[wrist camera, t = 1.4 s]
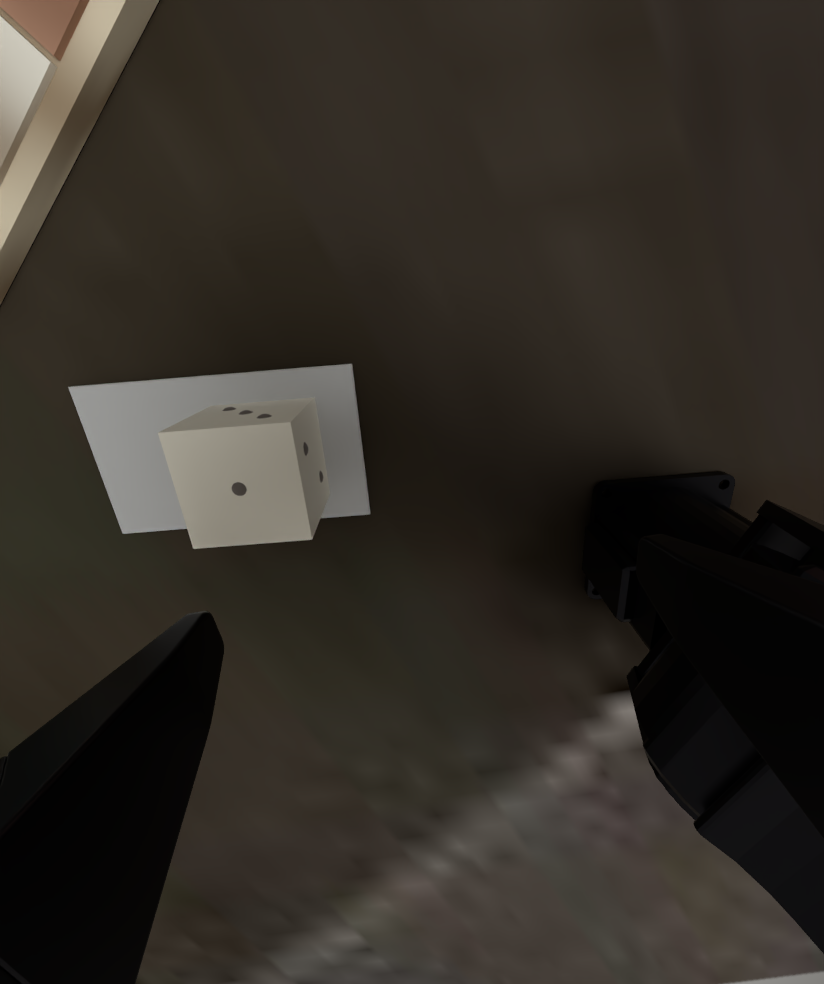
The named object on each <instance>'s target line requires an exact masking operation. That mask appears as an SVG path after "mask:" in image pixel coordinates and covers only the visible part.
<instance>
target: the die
mask: <svg viewBox="0 0 824 984" xmlns="http://www.w3.org/2000/svg"><path fill="white" fill-rule="evenodd" d="M158 435H159V438H160V442H161V445H162V448H163V452H164V455H165V458H166V461H167V465H168V468H169V471H170V474H171V478H172V481H173V484H174V487H175V491H176V494H177V497H178V500H179V504H180V507H181V510H182V514H183V517H184V520H185V523H186V527H187V530H188V533H189V536H190V540H191V543H192V546H193V549H199V548H211V547H224V546H237V545H250V544H263V543H276V542H289V541H301V540H312V539H313V536H314V534H315V531H316V529H317V526H318V523H319V521H320V518H321V516H322V513H323V510H324V508H325V505H326V503H327V500H328V498H329V495H330V490H329V483H328V477H327V471H326V465H325V458H324V452H323V446H322V440H321V433H320V427H319V421H318V415H317V408H316V402H315V398H302V399H290V400H278V401H265V402H253V403H240V404H228V405H215V406H210V407H208V408H206V409H204V410H202V411H200V412H198V413H196V414H194V415H192V416H190V417H188V418H186V419H184V420H182V421H180V422H178V423H176V424H174V425H172V426H170V427H168V428H166V429H164V430H162V431H160V432H158Z"/></svg>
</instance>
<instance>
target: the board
mask: <svg viewBox="0 0 824 984" xmlns="http://www.w3.org/2000/svg"><path fill="white" fill-rule="evenodd" d="M158 2H159V0H0V305H1V303H2V301H3V299H4V297H5V295H6V293H7V291H8V289H9V288H10V286H11V284H12V282H13V280H14V278H15V276H16V274H17V272H18V270H19V268H20V266H21V265H22V263H23V261H24V259H25V257H26V255H27V253H28V251H29V249H30V247H31V245H32V243H33V242H34V240H35V238H36V236H37V234H38V232H39V230H40V228H41V226H42V224H43V222H44V220H45V219H46V217H47V215H48V213H49V211H50V209H51V207H52V205H53V203H54V201H55V199H56V197H57V196H58V194H59V192H60V190H61V188H62V186H63V184H64V182H65V180H66V178H67V176H68V175H69V173H70V171H71V169H72V167H73V165H74V163H75V161H76V159H77V157H78V155H79V153H80V152H81V150H82V148H83V146H84V144H85V142H86V140H87V138H88V136H89V134H90V132H91V130H92V129H93V127H94V125H95V123H96V121H97V119H98V117H99V115H100V113H101V111H102V109H103V107H104V106H105V104H106V102H107V100H108V98H109V96H110V94H111V92H112V90H113V88H114V86H115V84H116V83H117V81H118V79H119V77H120V75H121V73H122V71H123V69H124V67H125V65H126V63H127V61H128V60H129V58H130V56H131V54H132V52H133V50H134V48H135V46H136V44H137V42H138V40H139V38H140V37H141V35H142V33H143V31H144V29H145V27H146V25H147V23H148V21H149V19H150V17H151V15H152V14H153V12H154V10H155V8H156V6H157V4H158Z"/></svg>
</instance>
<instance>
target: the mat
mask: <svg viewBox="0 0 824 984" xmlns="http://www.w3.org/2000/svg"><path fill="white" fill-rule="evenodd" d="M68 388H69V390H70V393H71V396H72V398H73V401H74V404H75V406H76V409H77V412H78V415H79V417H80V420H81V423H82V425H83V428H84V431H85V433H86V436H87V439H88V441H89V444H90V447H91V449H92V452H93V455H94V458H95V460H96V463H97V466H98V468H99V471H100V474H101V476H102V479H103V482H104V484H105V487H106V490H107V493H108V495H109V498H110V501H111V503H112V506H113V509H114V511H115V514H116V517H117V519H118V522H119V525H120V528H121V530H122V533H123V534H126V533H139V532H152V531H165V530H177V529H187V527H186V523H185V520H184V517H183V514H182V510H181V507H180V504H179V500H178V497H177V494H176V491H175V487H174V484H173V481H172V478H171V474H170V471H169V468H168V465H167V461H166V458H165V455H164V452H163V448H162V445H161V442H160V438H159V435H158V432H160V431H162V430H164V429H166V428H168V427H170V426H172V425H174V424H176V423H178V422H180V421H182V420H184V419H186V418H188V417H190V416H192V415H194V414H196V413H198V412H200V411H202V410H204V409H206V408H208V407H210V406H215V405H228V404H240V403H253V402H265V401H278V400H290V399H302V398H315V402H316V408H317V415H318V421H319V427H320V433H321V440H322V446H323V452H324V458H325V465H326V471H327V477H328V483H329V490H330V495H329V498H328V500H327V503H326V505H325V508H324V510H323V513H322V516H321V518H331V517H344V516H356V515H369V514H370V504H369V496H368V487H367V479H366V471H365V463H364V455H363V447H362V439H361V431H360V423H359V415H358V407H357V398H356V390H355V382H354V374H353V366H352V364H340V365H328V366H315V367H303V368H291V369H278V370H266V371H254V372H241V373H229V374H217V375H204V376H192V377H179V378H167V379H155V380H142V381H130V382H118V383H105V384H93V385H81V386H71V387H68Z"/></svg>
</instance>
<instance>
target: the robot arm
mask: <svg viewBox="0 0 824 984" xmlns="http://www.w3.org/2000/svg"><path fill="white" fill-rule="evenodd" d="M722 480H724V482H723V484H722V485H721V486H719V483H720V482H721V481H722ZM734 486H735V479H734V477H733V476H731V475H729V474H727V473H725V472H711V473H698V474H685V475H673V476H660V477H647V478H634V479H622V480H609V481H602V482H599V483H598V484H597V485H596V486H595V487H594V490H593V498H592V509H591V520H590V523H589V524H588V525H587V527H586V528H585V540H584V551H583V563H582V570H583V571H584V573H585V574H586V575H585V586H584V588H585V591H586V593H587V594H588V596H589V597H590V598H592V599H603V600H604V602H605V603H606V604H607V606H608V607H609V609H610V610H611V612H612V613H613V615H614V616H615V617H616V618H617V619H618V620H619V621H621V622H629V623H630V624H631V625H632V627H633V628H634V629H635V631H636V632H637V634H638V635H639V636H640V638H641V639H642V640H643V642H644V643H645V645H646V646H647V647H648V649H649V650H650V652H649V653H648V654H647V656H646V657H645V658H644V659H643V661H642V662H641V663H640V664H639V666H634V667H633V668H632V670H631V671H630V672H629V673H628V675H627V680H628V684H629V688H630V692H631V696H632V700H633V704H634V708H635V712H636V716H637V720H638V724H639V728H640V732H641V736H642V740H643V747H644V750H645V753H646V755H647V758H648V760H649V763H650V765H651V767H652V769H653V770H654V773H655V775H656V777H657V778H658V780H659V781H660V782H661V783H662V784H663V786H664V787H665V789H666V790H667V791H668V793H669V794H670V795H671V796H672V797H673V798H674V799H675V801H676V802H677V803H678V804H679V805H680V806H681V807H682V808H683V809H684V810H685V811H686V812H687V813H688V814H689V815H690V816H691V817H692V818H693V819H694V820H695V821H694V826H695V828H696V830H697V831H698V832H699V834H700V835H702V836H703V837H704V838H705V839H707V840H708V841H709V842H711V843H712V844H713V845H715V846H716V847H717V848H718V849H720V850H721V851H722V852H724V853H725V854H726V855H728V856H729V857H730V858H732V859H733V860H734V861H736V862H737V863H738V864H739V865H740V866H741V867H742V868H743V869H744V870H745V871H746V872H747V873H748V874H749V875H751V876H752V877H753V878H754V879H755V880H756V881H757V882H758V883H759V884H760V885H761V886H762V887H763V888H764V889H765V890H767V891H768V892H769V893H770V894H771V895H772V896H773V898H774V899H775V900H776V901H777V902H778V903H779V904H780V905H781V906H782V907H783V908H784V909H785V911H786V912H787V913H788V914H789V915H790V916H791V917H792V918H793V919H794V920H795V921H796V923H797V924H798V925H799V926H800V927H801V928H802V929H803V931H804V932H805V933H806V934H807V935H808V936H809V937H810V939H811V940H812V941H813V942H814V943H815V944H816V945H817V947H818V948H819V949H820V950H821V951H822V952H823V953H824V525H822V524H819V523H817V522H815V521H813V520H811V519H808V518H806V517H804V516H802V515H800V514H797V513H795V512H793V511H791V510H788V509H786V508H784V507H782V506H780V505H777V504H775V503H773V502H771V501H769V500H766V501H765V502H764V504H763V505H762V506H761V507H760V509H759V510H758V511H757V513H758V514H759V515H758V517H757V518H756V519H755V520H754V522H751V521H749V520H748V519H746V518H744V517H743V516H741V515H740V514H738V513H736V512H735V511H733V510H731V509H730V504H731V499H732V495H733V490H734ZM605 489H609V491H608V493H607V494H606V495H602V492H603V491H604V490H605ZM594 588H595V589H596V590H594V591H592V590H593V589H594ZM223 655H224V643H223V640H222V637H221V635H220V633H219V630H218V628H217V625H216V623H215V621H214V618H213V616H212V614H211V613H210V612H208V611H202V612H196V613H190V614H187V615H186V616H184V617H183V618H182V619H180V620H179V621H178V622H176V623H175V624H174V625H173V626H171V627H170V628H169V629H167V630H166V631H165V632H164V633H162V634H161V635H160V636H158V637H157V638H156V639H154V640H153V641H152V642H151V643H149V644H148V645H147V646H145V647H144V648H143V649H142V650H140V651H139V652H138V653H136V654H135V655H134V656H133V657H131V658H130V659H129V660H127V661H126V662H125V663H124V664H122V665H121V666H120V667H118V668H117V669H116V670H114V671H113V672H112V673H111V674H109V675H108V676H107V677H105V678H104V679H103V680H102V681H100V682H99V683H98V684H96V685H95V686H94V687H93V688H91V689H90V690H89V691H87V692H86V693H85V694H84V695H82V696H81V697H80V698H78V699H77V700H76V701H74V702H73V703H72V704H71V705H69V706H68V707H67V708H65V709H64V710H63V711H62V712H60V713H59V714H58V715H56V716H55V717H54V718H53V719H51V720H50V721H49V722H47V723H46V724H45V725H44V726H42V727H41V728H40V729H38V730H37V731H36V732H34V733H33V734H32V735H31V736H29V737H28V738H27V739H25V740H24V741H23V742H22V743H20V744H19V745H18V746H16V747H15V748H14V749H13V750H11V751H10V752H9V753H8V756H7V757H6V756H4V757H2V758H1V759H0V984H135V982H136V979H137V975H138V972H139V969H140V965H141V962H142V958H143V955H144V952H145V948H146V945H147V941H148V938H149V934H150V931H151V928H152V924H153V921H154V917H155V914H156V911H157V907H158V904H159V900H160V897H161V894H162V890H163V887H164V883H165V880H166V876H167V873H168V870H169V866H170V863H171V859H172V856H173V853H174V849H175V846H176V842H177V839H178V835H179V832H180V829H181V825H182V822H183V818H184V815H185V812H186V808H187V805H188V801H189V798H190V795H191V791H192V788H193V784H194V781H195V777H196V774H197V771H198V767H199V764H200V760H201V757H202V754H203V750H204V747H205V743H206V740H207V736H208V733H209V729H210V725H211V721H212V716H213V711H214V705H215V700H216V694H217V689H218V683H219V677H220V672H221V666H222V661H223Z"/></svg>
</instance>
